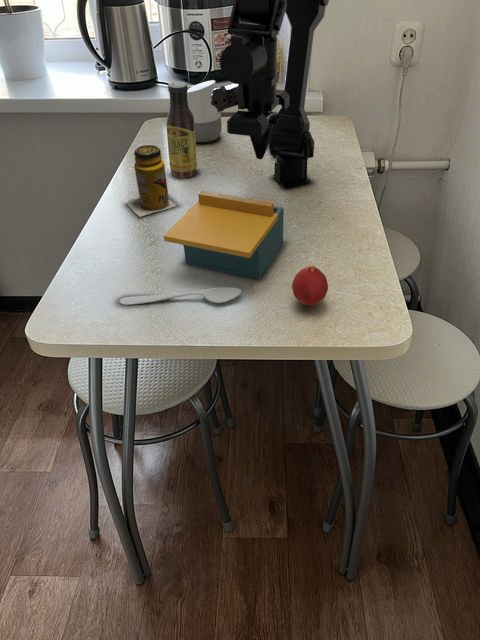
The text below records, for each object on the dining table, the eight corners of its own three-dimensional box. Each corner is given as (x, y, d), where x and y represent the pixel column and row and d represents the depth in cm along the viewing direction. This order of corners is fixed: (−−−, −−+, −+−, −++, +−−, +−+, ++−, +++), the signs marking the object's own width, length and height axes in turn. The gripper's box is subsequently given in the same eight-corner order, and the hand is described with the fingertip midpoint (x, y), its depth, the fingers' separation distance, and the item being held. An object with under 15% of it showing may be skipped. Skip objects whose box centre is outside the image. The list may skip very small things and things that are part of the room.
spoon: (241, 305, 97) (241, 297, 96) (117, 309, 96) (115, 301, 95) (241, 291, 100) (240, 283, 99) (121, 294, 100) (119, 286, 98)
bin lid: (199, 204, 107) (197, 189, 105) (278, 218, 103) (278, 203, 101) (164, 241, 98) (161, 225, 96) (249, 258, 94) (249, 242, 92)
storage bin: (214, 230, 115) (211, 195, 110) (283, 243, 111) (283, 207, 106) (185, 263, 107) (181, 226, 101) (259, 278, 102) (258, 241, 97)
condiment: (176, 206, 123) (169, 151, 115) (139, 217, 120) (130, 161, 112) (161, 193, 128) (154, 139, 120) (125, 203, 124) (115, 149, 116)
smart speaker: (196, 129, 155) (191, 74, 145) (228, 134, 152) (225, 77, 143) (180, 143, 148) (173, 85, 139) (212, 147, 146) (208, 89, 136)
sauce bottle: (166, 176, 134) (154, 86, 120) (178, 166, 138) (168, 77, 125) (191, 181, 132) (182, 90, 119) (203, 170, 136) (195, 80, 123)
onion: (289, 295, 99) (290, 255, 93) (323, 293, 99) (326, 253, 94) (294, 316, 94) (295, 275, 89) (329, 314, 95) (332, 273, 89)
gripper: (233, 53, 108) (236, 137, 118) (195, 78, 95) (201, 171, 104) (291, 57, 106) (288, 143, 116) (260, 84, 92) (260, 179, 102)
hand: (259, 158), depth 109 cm, fingers closed
